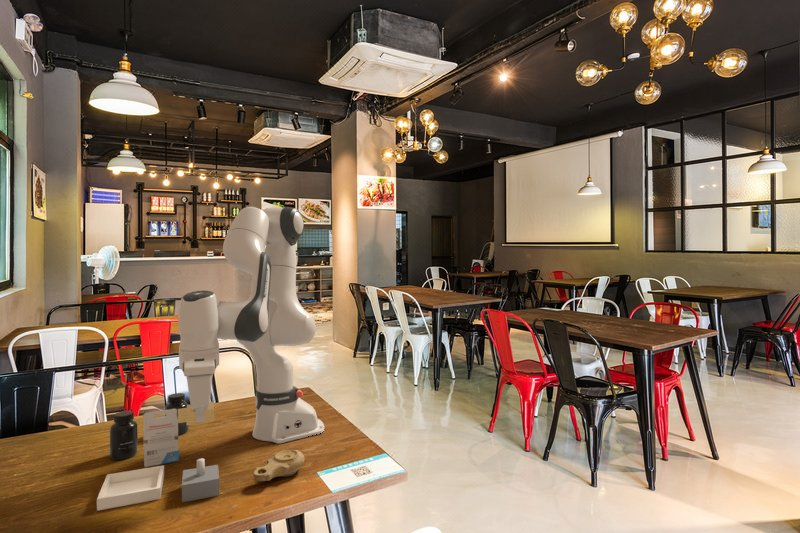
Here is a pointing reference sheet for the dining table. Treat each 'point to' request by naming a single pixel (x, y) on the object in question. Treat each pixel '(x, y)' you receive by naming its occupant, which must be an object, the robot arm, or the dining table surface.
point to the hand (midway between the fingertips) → (200, 416)
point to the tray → (131, 487)
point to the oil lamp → (280, 465)
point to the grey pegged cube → (200, 482)
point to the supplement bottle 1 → (123, 436)
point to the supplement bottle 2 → (177, 403)
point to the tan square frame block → (190, 415)
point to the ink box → (160, 437)
